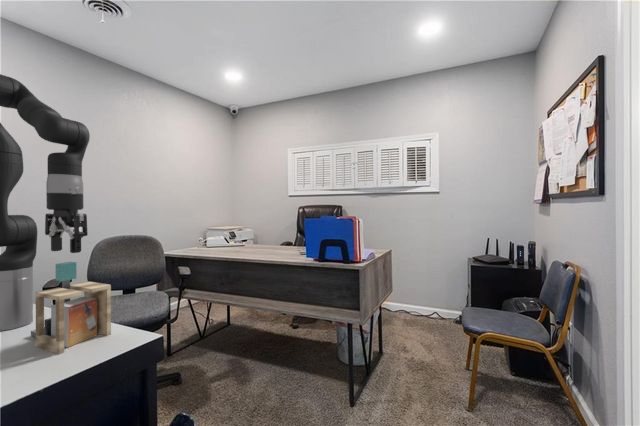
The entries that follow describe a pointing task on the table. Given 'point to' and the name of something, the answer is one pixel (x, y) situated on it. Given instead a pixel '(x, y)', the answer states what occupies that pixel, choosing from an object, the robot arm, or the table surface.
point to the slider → (63, 274)
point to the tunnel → (59, 295)
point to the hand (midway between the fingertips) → (66, 251)
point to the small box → (77, 320)
